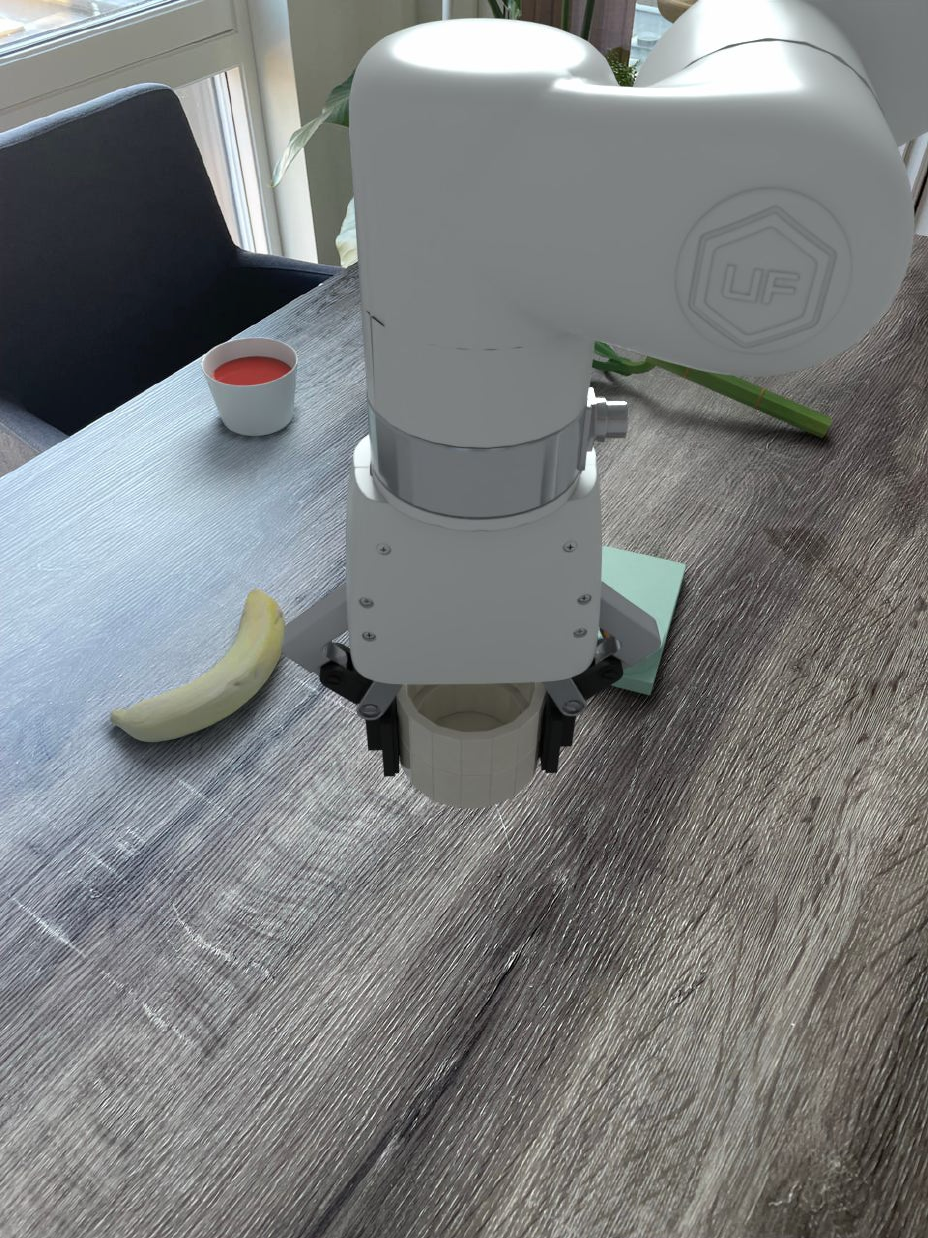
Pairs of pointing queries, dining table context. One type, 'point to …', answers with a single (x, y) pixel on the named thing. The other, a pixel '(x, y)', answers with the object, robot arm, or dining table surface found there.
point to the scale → (643, 602)
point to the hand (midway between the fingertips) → (469, 748)
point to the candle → (252, 384)
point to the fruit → (214, 680)
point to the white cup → (470, 740)
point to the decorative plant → (723, 389)
